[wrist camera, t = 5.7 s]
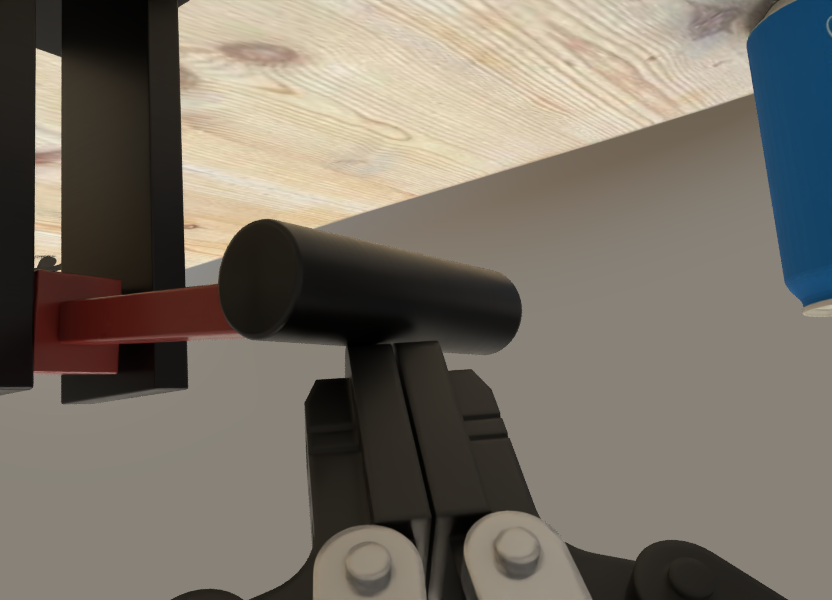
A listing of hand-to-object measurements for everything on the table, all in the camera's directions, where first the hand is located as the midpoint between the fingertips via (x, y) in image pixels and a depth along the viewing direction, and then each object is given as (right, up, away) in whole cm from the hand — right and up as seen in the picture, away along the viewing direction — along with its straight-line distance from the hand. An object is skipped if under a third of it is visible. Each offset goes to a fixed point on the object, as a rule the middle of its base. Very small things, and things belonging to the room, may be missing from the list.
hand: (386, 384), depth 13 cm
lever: (-5, +2, +4) cm, 6 cm away
